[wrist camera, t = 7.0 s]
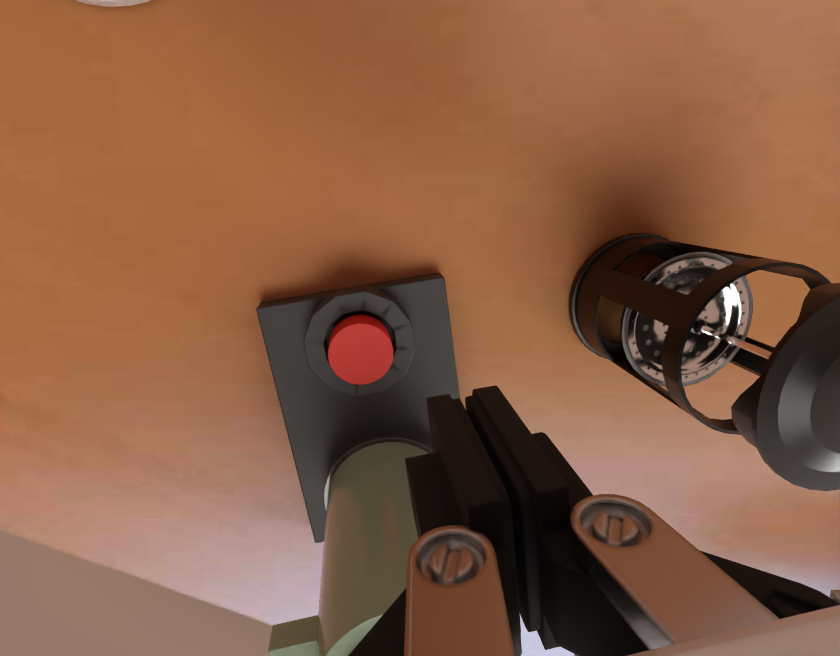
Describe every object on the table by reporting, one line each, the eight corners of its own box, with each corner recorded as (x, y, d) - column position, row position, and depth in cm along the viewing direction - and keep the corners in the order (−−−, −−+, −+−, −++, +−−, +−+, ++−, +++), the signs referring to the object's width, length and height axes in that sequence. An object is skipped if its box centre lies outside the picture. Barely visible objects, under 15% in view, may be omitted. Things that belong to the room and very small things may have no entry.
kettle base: (259, 297, 32) (248, 310, 29) (439, 267, 33) (448, 276, 30) (316, 528, 37) (313, 561, 34) (469, 496, 38) (480, 525, 35)
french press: (537, 325, 35) (846, 562, 13) (605, 204, 33) (1095, 245, 11) (663, 385, 38) (1088, 662, 16) (732, 277, 36) (1319, 422, 14)
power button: (323, 320, 30) (321, 329, 28) (385, 309, 30) (387, 318, 28) (335, 377, 31) (334, 390, 29) (395, 366, 31) (398, 378, 29)
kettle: (283, 452, 31) (219, 704, 16) (441, 421, 32) (521, 633, 17) (318, 585, 35) (291, 900, 19) (460, 554, 36) (542, 832, 20)
